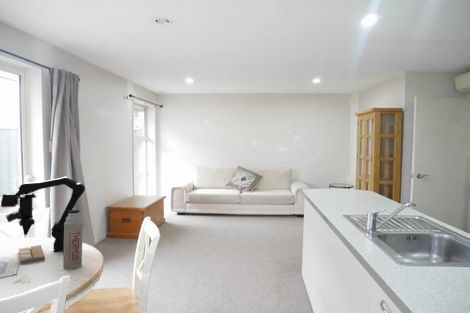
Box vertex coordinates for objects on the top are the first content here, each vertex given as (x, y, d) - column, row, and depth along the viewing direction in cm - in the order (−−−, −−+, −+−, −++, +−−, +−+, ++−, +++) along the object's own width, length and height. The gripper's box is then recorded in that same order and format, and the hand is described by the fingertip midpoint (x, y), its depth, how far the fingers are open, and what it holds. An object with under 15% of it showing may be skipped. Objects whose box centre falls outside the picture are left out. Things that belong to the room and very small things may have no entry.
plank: (19, 250, 159) (19, 248, 159) (28, 248, 161) (28, 247, 161) (20, 261, 144) (20, 259, 144) (31, 259, 146) (31, 257, 146)
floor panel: (19, 252, 159) (19, 248, 159) (40, 248, 165) (40, 245, 165) (20, 264, 143) (20, 260, 143) (44, 260, 150) (44, 256, 150)
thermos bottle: (81, 268, 142) (83, 211, 141) (62, 271, 138) (64, 212, 137) (81, 262, 149) (83, 208, 148) (63, 264, 145) (65, 209, 144)
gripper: (6, 204, 159) (5, 232, 159) (7, 211, 144) (7, 242, 145) (31, 202, 166) (30, 229, 166) (34, 208, 151) (34, 238, 152)
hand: (25, 234), depth 157 cm, fingers closed
